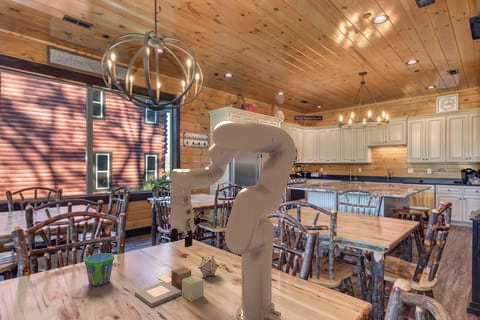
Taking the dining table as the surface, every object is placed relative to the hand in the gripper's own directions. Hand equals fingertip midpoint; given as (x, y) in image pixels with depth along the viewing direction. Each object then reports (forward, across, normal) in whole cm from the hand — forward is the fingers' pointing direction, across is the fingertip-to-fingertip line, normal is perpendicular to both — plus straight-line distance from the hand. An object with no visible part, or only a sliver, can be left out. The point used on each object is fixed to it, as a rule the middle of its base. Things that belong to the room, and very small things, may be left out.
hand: (181, 243), depth 107 cm
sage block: (+16, -10, +2) cm, 19 cm away
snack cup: (+16, +26, +21) cm, 37 cm away
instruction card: (+16, +9, -2) cm, 19 cm away
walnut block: (+16, 0, 0) cm, 16 cm away
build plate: (+16, 0, +10) cm, 19 cm away
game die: (+17, -1, -13) cm, 21 cm away
